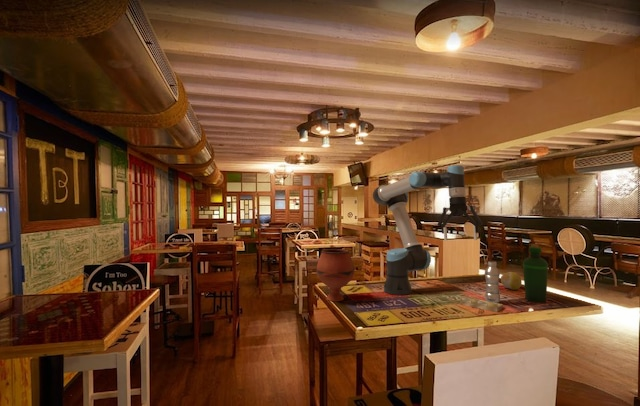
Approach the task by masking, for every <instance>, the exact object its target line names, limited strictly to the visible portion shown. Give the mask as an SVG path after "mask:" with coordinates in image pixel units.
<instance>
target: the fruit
mask: <svg viewBox="0 0 640 406" xmlns="http://www.w3.org/2000/svg"><path fill="white" fill-rule="evenodd" d="M500 276H501V277H500V282H501V284H502V286H503V287H504V288H506V289H508V290H512V291H517V290H519V289H520V287H522V283H523V282H522V281H523V280H522V277H521V276H520V275H519V274H518V273H517V272H515V271H508V272H504V273H503V274H502V275H500Z"/></svg>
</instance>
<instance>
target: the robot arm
mask: <svg viewBox="0 0 640 406" xmlns="http://www.w3.org/2000/svg"><path fill="white" fill-rule="evenodd" d="M465 185H466V184H465V169H464V166H463V165H462V164H460V165H459V164H456V165H455V164H454V165H449V166H448V167H447V169H446V171H443V172H427V171H426V172H425V171H413V172H412V173H411V174H410V175H409V176H407V177H405V178H402V179H400V180H397V181H395V182H392V183H389V184H387V185H384V184H383V185H380V186H377V187H376V188H375V189H374V190H373V191H372V199H373V201H374V202H375V203H376V204H377V205H380V206H387V209H388V210H389V211H390V212H392V216H393V218H394V221H395V225H396V229H397V230H398V233H399V236H400V238H401V242H402V245H403V247H402V248H401V247H399V248H392V249H389V250H388V251H387V252H386V257H385V259H386V277H385V278H386V279H385V282H384V284H383V292H384V293H387V294H390V295H395V296H406V295H411V294H412V293H413V292H412V291H413V290H412V286H411V283H410V280H409V272H417V271H419V272H421V271H423V270H427V269H428V268H429V267H430V265H431V261H432V257H431V254H430V251H429V250H427V249H424V247H423V244H422V243H420V242H419V241H418V238H417V235H416V233H415V229H414V228H413V224H412V221H411V219H410V216H409V213H408V210H407V208H406V207H407V206H408V202H409V194H408V193H409V192H413V191H416V190H418V189H421V188H431V189H441V188H446V187H448V197H449V200H448V201H449V207H445V206H444V207H443V208H442V212H441V215H440V218H439V220H438V222H437V227H441V228H440V229H441V234H443V239H444V241H448V230H447V229H448V228H447V224H448V223H449V222H450V221H451V219H452V218H453V217H458V216H460V217H461V216H464V217H465V218H467V219H468V221H469V222H470V223H472V224H473V225H474V226H472V227H473V229H472V230H473V240H474V241H477V240H478V236H477V234H479V233H480V229H479V226H482V225H483V221H482V220H481V218H480V217H479V215H478V214H477V212H476V210H475V207H474V205H469V206H468V205H467V197H466V195H467V194H466V193H467V192H466V186H465ZM468 210H469V212H470V213H471V214H472V215H473V217H474V219H473V218H472V216H470V214H469V213H468V212H467V211H468ZM448 211H449V212H450V213H449V214H448V216H447V217H446V215H447V213H448ZM445 217H446V219H445Z"/></svg>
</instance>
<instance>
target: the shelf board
mask: <svg viewBox="0 0 640 406" xmlns="http://www.w3.org/2000/svg"><path fill="white" fill-rule="evenodd" d="M459 299H460V302H459V303H460V305H461V306H465V307H466V306H467V307H470V308H475V309H481V310H484V311H490V312H495V313H498V312H500V311H501V310H502V309H504V304H503V303H493V302H488V301H486V300H482V299H477V298H472V297H464V296H460V298H459Z"/></svg>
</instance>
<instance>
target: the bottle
mask: <svg viewBox="0 0 640 406" xmlns="http://www.w3.org/2000/svg"><path fill="white" fill-rule="evenodd" d="M530 245H531V246H529V247H528V252H529V256H528V257H526V258H524V260H523V261H522V269H523V270H522V271H523V281H524V282H523V284H524V296H525V300H528V301H529V302H533V303H539V304H543V303H546V302H547V291H548V290H547V289H548V288H547V287H548V270H549V263H548V262H547V261H546V260H545V259H544V258H543V257H541V253H542V248H541V247H539V244H538V243H537V244H536V243H535V244H534V243H532V244H530Z"/></svg>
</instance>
